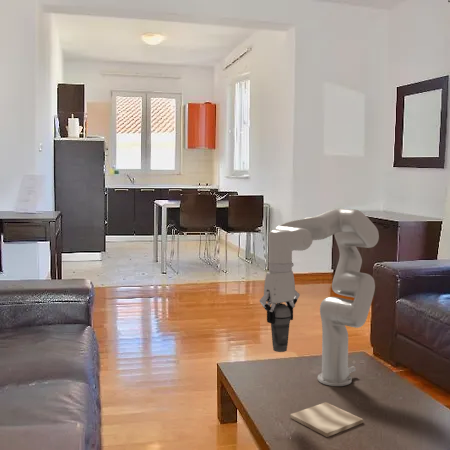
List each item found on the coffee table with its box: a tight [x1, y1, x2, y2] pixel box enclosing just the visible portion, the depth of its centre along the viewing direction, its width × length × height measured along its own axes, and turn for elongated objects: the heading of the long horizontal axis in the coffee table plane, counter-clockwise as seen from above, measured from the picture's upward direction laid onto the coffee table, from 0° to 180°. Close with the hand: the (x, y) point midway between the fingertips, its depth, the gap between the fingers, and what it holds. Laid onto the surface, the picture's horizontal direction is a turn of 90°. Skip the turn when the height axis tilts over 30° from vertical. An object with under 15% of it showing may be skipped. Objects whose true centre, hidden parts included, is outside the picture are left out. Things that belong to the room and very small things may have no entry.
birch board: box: [289, 401, 364, 438], centre depth 177 cm, size 16×16×1 cm
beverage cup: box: [270, 302, 292, 353], centre depth 184 cm, size 7×7×20 cm
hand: (280, 320), depth 184 cm, fingers closed on beverage cup, 7 cm apart
